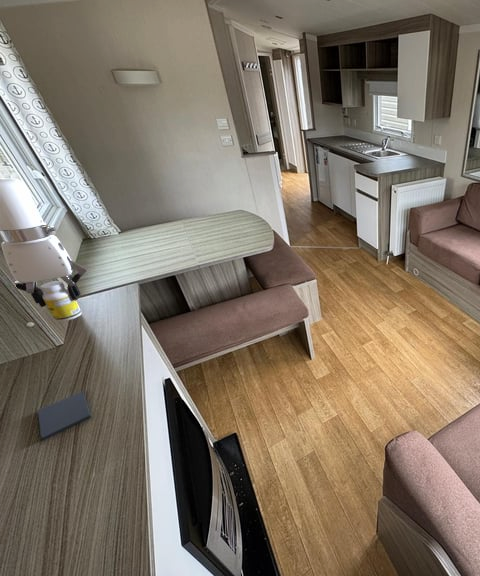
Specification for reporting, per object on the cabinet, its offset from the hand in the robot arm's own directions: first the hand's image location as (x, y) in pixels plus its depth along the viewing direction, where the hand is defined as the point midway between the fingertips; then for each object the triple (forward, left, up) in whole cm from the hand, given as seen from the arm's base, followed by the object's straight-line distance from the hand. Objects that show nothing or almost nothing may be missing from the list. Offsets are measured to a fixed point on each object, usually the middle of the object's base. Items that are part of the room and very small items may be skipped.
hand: (60, 300), depth 79 cm
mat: (+13, -30, -12) cm, 35 cm away
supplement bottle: (0, 0, -5) cm, 5 cm away
